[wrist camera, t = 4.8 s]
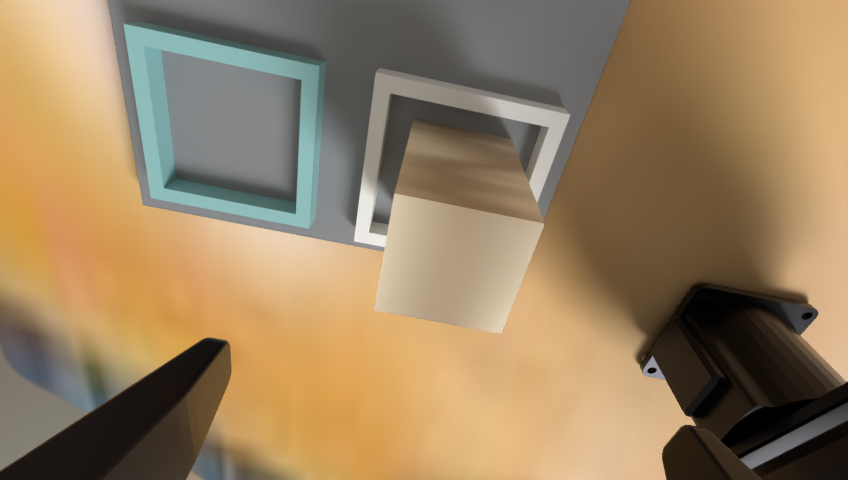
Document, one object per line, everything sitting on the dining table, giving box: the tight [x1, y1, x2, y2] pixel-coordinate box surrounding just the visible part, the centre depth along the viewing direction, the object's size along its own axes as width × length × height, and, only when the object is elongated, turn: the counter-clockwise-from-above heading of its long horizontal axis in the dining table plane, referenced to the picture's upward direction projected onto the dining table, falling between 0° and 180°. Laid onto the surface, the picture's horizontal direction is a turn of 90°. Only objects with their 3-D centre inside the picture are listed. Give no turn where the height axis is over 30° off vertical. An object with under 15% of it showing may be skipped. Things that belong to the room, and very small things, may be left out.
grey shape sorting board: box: [108, 0, 631, 251], centre depth 15 cm, size 18×18×4 cm
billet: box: [374, 119, 545, 334], centre depth 15 cm, size 4×4×7 cm
